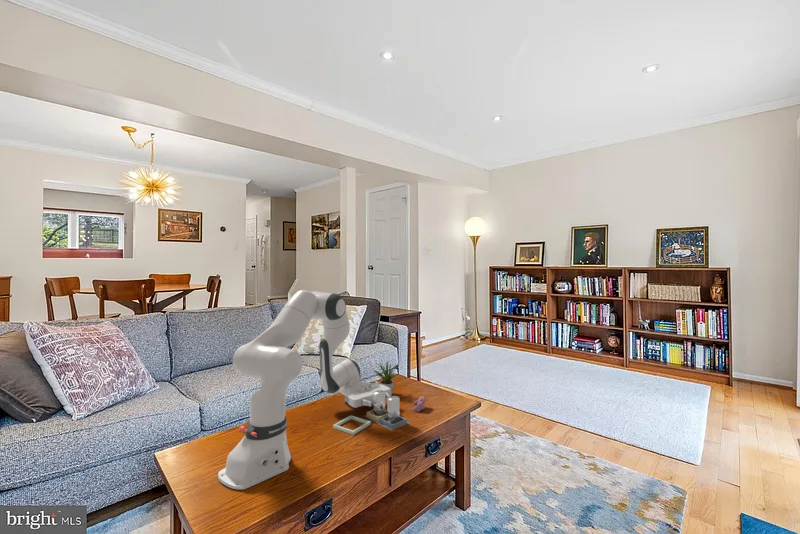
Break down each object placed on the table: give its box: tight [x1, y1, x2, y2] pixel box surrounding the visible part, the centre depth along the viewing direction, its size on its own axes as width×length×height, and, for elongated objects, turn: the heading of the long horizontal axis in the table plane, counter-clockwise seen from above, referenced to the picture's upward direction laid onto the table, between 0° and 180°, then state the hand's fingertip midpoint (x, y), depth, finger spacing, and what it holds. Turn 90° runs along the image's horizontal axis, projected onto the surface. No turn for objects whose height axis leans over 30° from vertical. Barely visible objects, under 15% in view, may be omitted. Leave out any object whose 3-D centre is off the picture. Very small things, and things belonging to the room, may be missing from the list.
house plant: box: [372, 360, 401, 396], centre depth 183 cm, size 14×14×16 cm
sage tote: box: [332, 415, 372, 436], centre depth 145 cm, size 11×11×2 cm
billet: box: [386, 395, 401, 424], centre depth 147 cm, size 5×5×10 cm
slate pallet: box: [364, 408, 411, 432], centre depth 151 cm, size 18×10×3 cm, turn 41°
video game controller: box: [410, 396, 427, 413], centre depth 162 cm, size 10×5×7 cm, turn 169°
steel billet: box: [372, 390, 386, 417], centre depth 154 cm, size 5×5×10 cm
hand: (380, 401), depth 153 cm, fingers open, 8 cm apart
